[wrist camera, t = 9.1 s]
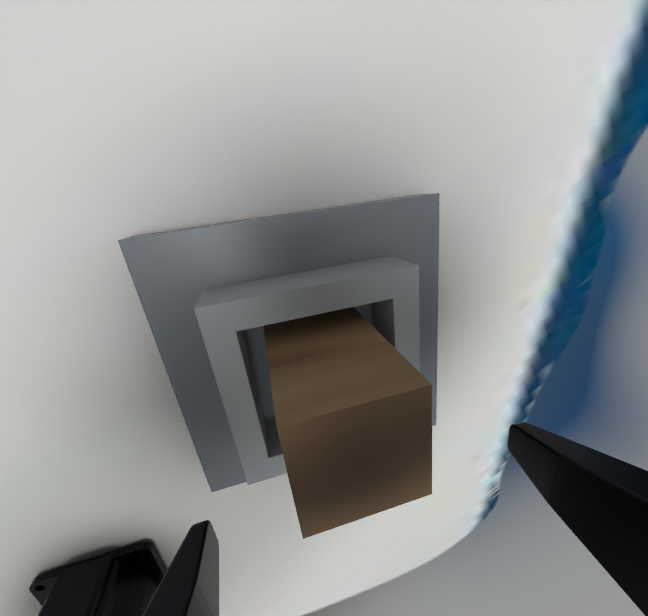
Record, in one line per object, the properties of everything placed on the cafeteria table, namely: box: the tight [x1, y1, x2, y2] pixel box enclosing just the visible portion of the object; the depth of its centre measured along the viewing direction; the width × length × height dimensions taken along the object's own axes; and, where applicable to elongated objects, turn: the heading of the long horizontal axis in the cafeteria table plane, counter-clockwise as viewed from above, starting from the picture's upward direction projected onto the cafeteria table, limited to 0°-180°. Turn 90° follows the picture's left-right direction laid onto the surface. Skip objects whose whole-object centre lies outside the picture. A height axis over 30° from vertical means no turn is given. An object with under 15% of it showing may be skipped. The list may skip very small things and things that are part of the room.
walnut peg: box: [263, 307, 432, 539], centre depth 12 cm, size 4×4×7 cm
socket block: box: [118, 193, 439, 492], centre depth 15 cm, size 14×14×4 cm
